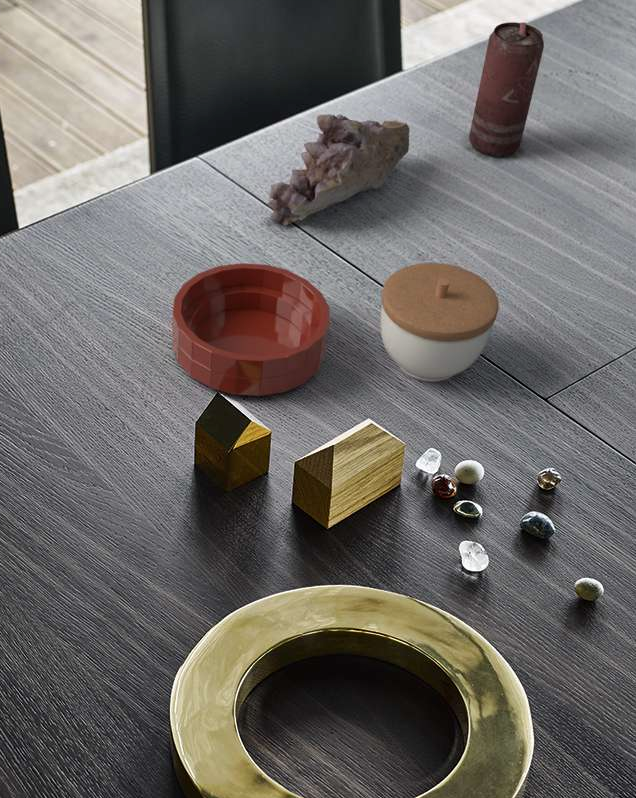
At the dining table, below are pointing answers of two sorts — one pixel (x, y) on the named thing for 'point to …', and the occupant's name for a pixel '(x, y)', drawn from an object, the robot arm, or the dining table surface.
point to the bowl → (250, 329)
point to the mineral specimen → (340, 165)
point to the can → (506, 89)
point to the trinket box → (436, 319)
